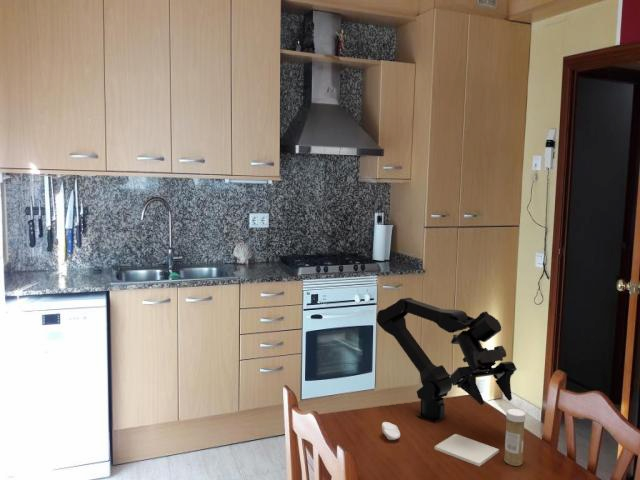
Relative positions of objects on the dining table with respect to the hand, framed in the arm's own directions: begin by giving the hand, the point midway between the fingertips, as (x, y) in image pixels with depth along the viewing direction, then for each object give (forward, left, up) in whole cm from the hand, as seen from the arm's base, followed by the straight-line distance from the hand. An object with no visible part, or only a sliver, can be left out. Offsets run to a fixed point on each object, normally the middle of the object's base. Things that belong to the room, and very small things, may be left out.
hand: (496, 402), depth 148 cm
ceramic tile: (-5, -6, -13) cm, 15 cm away
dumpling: (-23, -15, -13) cm, 31 cm away
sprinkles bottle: (+7, -3, -13) cm, 15 cm away
